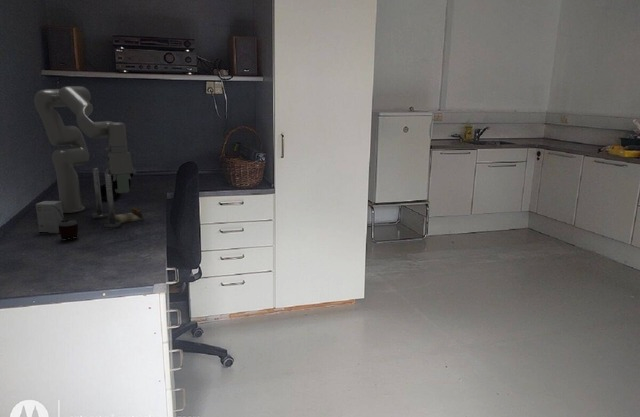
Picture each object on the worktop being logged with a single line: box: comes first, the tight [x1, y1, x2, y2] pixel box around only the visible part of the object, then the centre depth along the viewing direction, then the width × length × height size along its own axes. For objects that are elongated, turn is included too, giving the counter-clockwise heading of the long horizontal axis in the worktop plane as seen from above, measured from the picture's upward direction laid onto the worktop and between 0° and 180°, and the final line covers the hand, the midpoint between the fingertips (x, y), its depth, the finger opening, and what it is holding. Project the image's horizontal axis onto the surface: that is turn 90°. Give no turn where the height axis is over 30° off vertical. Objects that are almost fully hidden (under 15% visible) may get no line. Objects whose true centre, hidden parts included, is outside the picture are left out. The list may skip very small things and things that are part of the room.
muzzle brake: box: [100, 174, 117, 201], centre depth 276 cm, size 10×28×10 cm, turn 15°
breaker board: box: [115, 207, 144, 224], centre depth 231 cm, size 10×12×4 cm
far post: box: [91, 167, 109, 220], centre depth 230 cm, size 7×7×24 cm
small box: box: [35, 200, 65, 234], centre depth 208 cm, size 8×6×13 cm
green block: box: [115, 174, 130, 194], centre depth 226 cm, size 5×5×9 cm
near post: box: [103, 173, 122, 229], centre depth 215 cm, size 7×7×24 cm
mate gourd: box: [51, 204, 79, 240], centre depth 198 cm, size 8×8×15 cm
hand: (122, 187), depth 227 cm, fingers closed on green block, 5 cm apart
